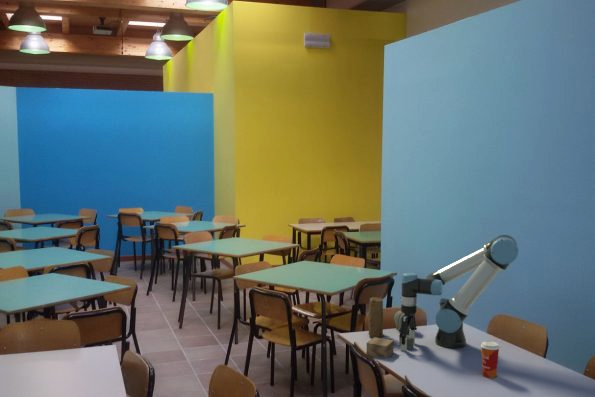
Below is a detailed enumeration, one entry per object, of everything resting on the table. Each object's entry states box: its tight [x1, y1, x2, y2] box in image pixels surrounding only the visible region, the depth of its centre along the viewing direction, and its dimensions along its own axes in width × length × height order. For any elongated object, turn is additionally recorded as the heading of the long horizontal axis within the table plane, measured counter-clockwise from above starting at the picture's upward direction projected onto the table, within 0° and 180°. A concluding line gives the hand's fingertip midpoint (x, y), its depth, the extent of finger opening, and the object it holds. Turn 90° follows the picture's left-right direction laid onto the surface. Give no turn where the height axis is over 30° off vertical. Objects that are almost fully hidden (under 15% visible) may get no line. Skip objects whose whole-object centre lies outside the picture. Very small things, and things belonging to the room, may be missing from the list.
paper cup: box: [480, 341, 500, 379], centre depth 242 cm, size 8×8×14 cm
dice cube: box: [398, 334, 415, 350], centre depth 281 cm, size 5×5×5 cm
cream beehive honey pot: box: [393, 310, 411, 331], centre depth 307 cm, size 11×17×11 cm, turn 32°
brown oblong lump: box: [368, 296, 384, 338], centre depth 298 cm, size 11×8×20 cm
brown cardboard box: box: [366, 337, 394, 359], centre depth 270 cm, size 10×10×6 cm
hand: (407, 346), depth 280 cm, fingers open, 13 cm apart
